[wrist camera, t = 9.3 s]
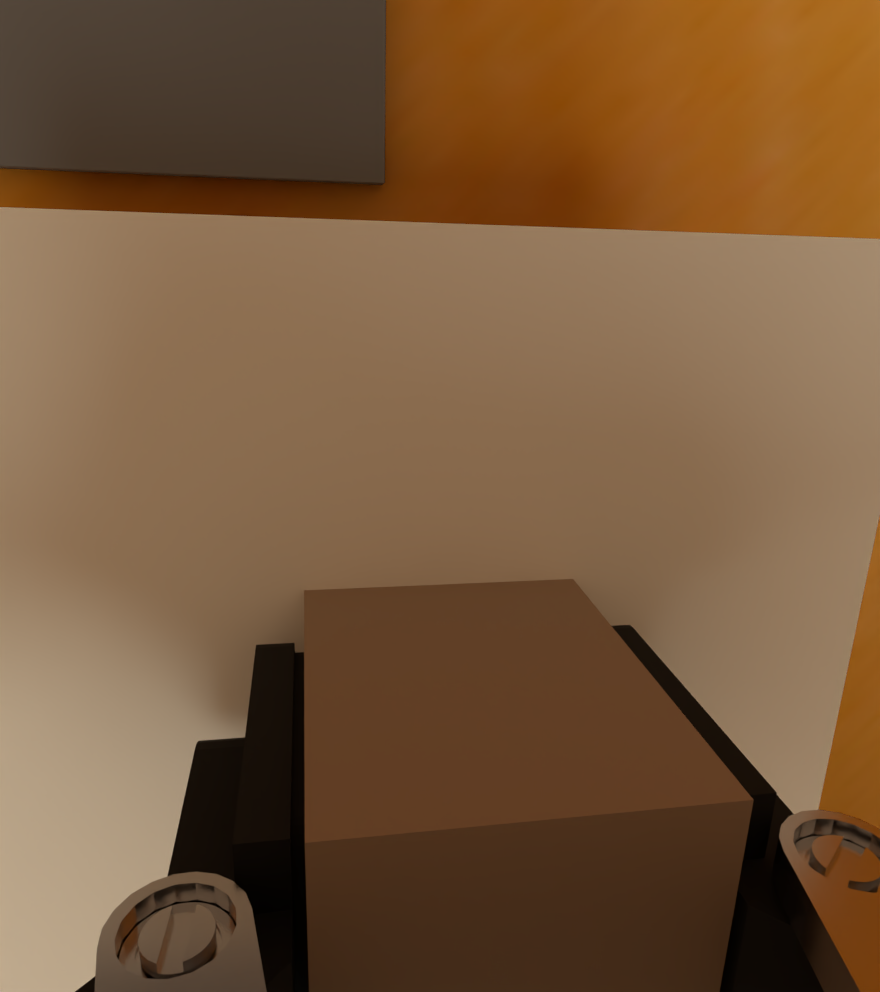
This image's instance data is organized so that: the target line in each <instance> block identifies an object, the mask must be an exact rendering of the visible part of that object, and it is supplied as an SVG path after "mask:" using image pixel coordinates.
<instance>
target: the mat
mask: <svg viewBox="0 0 880 992" xmlns="http://www.w3.org/2000/svg"><path fill="white" fill-rule="evenodd" d="M385 57H386V0H0V168H9V169H31V170H54V171H77V172H99V173H122V174H145V175H167V176H190V177H213V178H235V179H258V180H281V181H304V182H326V183H349V184H372V185H383V184H384V183H385Z"/></svg>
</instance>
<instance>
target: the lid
mask: <svg viewBox="0 0 880 992" xmlns="http://www.w3.org/2000/svg"><path fill="white" fill-rule="evenodd" d="M879 516H880V239H867V238H839V237H812V236H784V235H756V234H729V233H701V232H673V231H646V230H618V229H590V228H563V227H535V226H508V225H480V224H452V223H425V222H397V221H370V220H342V219H314V218H287V217H259V216H231V215H204V214H176V213H148V212H121V211H93V210H66V209H38V208H10V207H0V992H75V991H76V990H78V989H79V988H80V987H82V986H83V985H84V984H86V983H87V982H88V981H89V980H91V979H92V978H93V977H95V972H96V954H97V946H98V942H99V938H100V934H101V930H102V928H103V926H104V924H105V923H106V921H107V920H108V918H109V917H110V915H111V914H112V912H113V910H114V909H115V908H116V907H118V906H119V905H120V904H121V903H122V902H123V901H124V900H125V899H126V898H127V897H128V896H129V895H130V894H132V893H134V892H135V891H137V890H139V889H140V888H142V887H144V886H146V885H147V884H149V883H151V882H153V881H156V880H159V879H162V878H164V877H167V876H168V871H169V866H170V862H171V857H172V853H173V848H174V843H175V839H176V834H177V829H178V825H179V820H180V816H181V811H182V806H183V802H184V797H185V792H186V788H187V783H188V778H189V774H190V769H191V765H192V760H193V755H194V751H195V747H196V744H197V742H198V741H202V740H216V739H229V738H243V737H245V733H246V725H247V716H248V708H249V699H250V691H251V683H252V674H253V666H254V657H255V649H256V645H261V644H279V643H294V644H295V653H297V652H304V761H305V870H306V905H307V939H308V974H309V992H720V986H721V980H722V975H723V969H724V964H725V958H726V952H727V947H728V941H729V935H730V930H731V924H732V919H733V913H734V907H735V902H736V896H737V891H738V885H739V879H740V874H741V868H742V862H743V857H744V851H745V846H746V840H747V834H748V829H749V823H750V817H751V812H752V806H753V801H754V800H753V798H752V797H751V796H750V795H749V794H748V792H747V791H746V790H745V789H744V787H743V786H742V785H741V784H740V783H739V781H738V780H737V779H736V778H735V776H734V775H733V774H732V773H731V772H730V770H729V769H728V768H727V767H726V765H725V764H724V763H723V762H722V761H721V759H720V758H719V757H718V756H717V754H716V753H715V752H714V751H713V750H712V748H711V747H710V746H709V745H708V743H707V742H706V741H705V740H704V739H703V737H702V736H701V735H700V734H699V732H698V731H697V730H696V729H695V728H694V726H693V725H692V724H691V723H690V721H689V720H688V719H687V718H686V717H685V715H684V714H683V713H682V712H681V710H680V709H679V708H678V707H677V706H676V704H675V703H674V702H673V701H672V699H671V698H670V697H669V696H668V695H667V693H666V692H665V691H664V690H663V688H662V687H661V686H660V685H659V684H658V682H657V681H656V680H655V679H654V677H653V676H652V675H651V674H650V673H649V671H648V670H647V669H646V668H645V666H644V665H643V664H642V663H641V662H640V660H639V659H638V658H637V657H636V655H635V654H634V653H633V652H632V651H631V649H630V648H629V647H628V646H627V644H626V643H625V642H624V641H623V640H622V638H621V637H620V636H619V635H618V633H617V632H616V631H615V630H614V628H613V627H612V626H615V625H630V626H632V627H633V628H634V629H635V630H636V631H637V633H638V634H639V635H640V636H641V637H642V638H643V639H644V641H645V642H646V643H647V644H648V645H649V646H650V648H651V649H652V650H653V651H654V652H655V653H656V654H657V656H658V657H659V658H660V659H661V660H662V661H663V662H664V664H665V665H666V666H667V667H668V668H669V669H670V671H671V672H672V673H673V674H674V675H675V676H676V677H677V679H678V680H679V681H680V682H681V683H682V684H683V685H684V687H685V688H686V689H687V690H688V691H689V692H690V693H691V695H692V696H693V697H694V698H695V699H696V700H697V702H698V703H699V704H700V705H701V706H702V707H703V708H704V710H705V711H706V712H707V713H708V714H709V715H710V716H711V718H712V719H713V720H714V721H715V722H716V723H717V725H718V726H719V727H720V728H721V729H722V730H723V731H724V733H725V734H726V735H727V736H728V737H729V738H730V739H731V741H732V742H733V743H734V744H735V745H736V746H737V748H738V749H739V750H740V751H741V752H742V753H743V754H744V756H745V757H746V758H747V759H748V760H749V761H750V762H751V764H752V765H753V766H754V767H755V768H756V769H757V771H758V772H759V773H760V774H761V775H762V776H763V777H764V779H765V780H766V781H767V782H768V783H769V784H770V785H771V787H772V788H773V789H774V790H775V791H776V792H777V795H778V797H779V798H780V799H781V800H782V801H783V802H784V803H785V805H786V806H787V807H788V808H789V809H790V810H791V811H792V813H793V814H796V813H799V812H801V811H810V810H818V808H819V804H820V799H821V794H822V789H823V784H824V780H825V775H826V770H827V765H828V760H829V756H830V751H831V746H832V741H833V736H834V732H835V727H836V722H837V717H838V713H839V708H840V703H841V698H842V693H843V689H844V684H845V679H846V674H847V669H848V665H849V660H850V655H851V650H852V645H853V641H854V636H855V631H856V626H857V621H858V617H859V612H860V607H861V602H862V597H863V593H864V588H865V583H866V578H867V573H868V569H869V564H870V559H871V554H872V550H873V545H874V540H875V535H876V530H877V526H878V521H879Z"/></svg>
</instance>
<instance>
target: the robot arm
mask: <svg viewBox="0 0 880 992" xmlns="http://www.w3.org/2000/svg"><path fill="white" fill-rule="evenodd" d="M612 627H613V628H614V630H615V631H616V632H617V633H618V635H619V636H620V637H621V638H622V640H623V641H624V642H625V643H626V644H627V646H628V647H629V648H630V649H631V651H632V652H633V653H634V654H635V655H636V657H637V658H638V659H639V660H640V662H641V663H642V664H643V665H644V666H645V668H646V669H647V670H648V671H649V673H650V674H651V675H652V676H653V677H654V679H655V680H656V681H657V682H658V684H659V685H660V686H661V687H662V688H663V690H664V691H665V692H666V693H667V695H668V696H669V697H670V698H671V699H672V701H673V702H674V703H675V704H676V706H677V707H678V708H679V709H680V710H681V712H682V713H683V714H684V715H685V717H686V718H687V719H688V720H689V721H690V723H691V724H692V725H693V726H694V728H695V729H696V730H697V731H698V732H699V734H700V735H701V736H702V737H703V739H704V740H705V741H706V742H707V743H708V745H709V746H710V747H711V748H712V750H713V751H714V752H715V753H716V754H717V756H718V757H719V758H720V759H721V761H722V762H723V763H724V764H725V765H726V767H727V768H728V769H729V770H730V772H731V773H732V774H733V775H734V776H735V778H736V779H737V780H738V781H739V783H740V784H741V785H742V786H743V787H744V789H745V790H746V791H747V792H748V794H749V795H750V796H751V797H752V798H753V800H754V801H753V806H752V812H751V817H750V823H749V829H748V834H747V840H746V846H745V851H744V857H743V862H742V868H741V874H740V879H739V885H738V891H737V896H736V902H735V907H734V913H733V919H732V924H731V930H730V935H729V941H728V947H727V952H726V958H725V964H724V969H723V975H722V980H721V986H720V992H880V829H879V828H877V827H875V826H873V825H871V824H869V823H867V822H865V821H863V820H861V819H858V818H855V817H852V816H848V815H845V814H842V813H839V812H831V811H824V810H810V811H801V812H799V813H796V814H793V813H792V811H791V810H790V809H789V808H788V807H787V806H786V805H785V803H784V802H783V801H782V800H781V799H780V798H779V797H778V795H777V792H776V791H775V790H774V789H773V788H772V787H771V785H770V784H769V783H768V782H767V781H766V780H765V779H764V777H763V776H762V775H761V774H760V773H759V772H758V771H757V769H756V768H755V767H754V766H753V765H752V764H751V762H750V761H749V760H748V759H747V758H746V757H745V756H744V754H743V753H742V752H741V751H740V750H739V749H738V748H737V746H736V745H735V744H734V743H733V742H732V741H731V739H730V738H729V737H728V736H727V735H726V734H725V733H724V731H723V730H722V729H721V728H720V727H719V726H718V725H717V723H716V722H715V721H714V720H713V719H712V718H711V716H710V715H709V714H708V713H707V712H706V711H705V710H704V708H703V707H702V706H701V705H700V704H699V703H698V702H697V700H696V699H695V698H694V697H693V696H692V695H691V693H690V692H689V691H688V690H687V689H686V688H685V687H684V685H683V684H682V683H681V682H680V681H679V680H678V679H677V677H676V676H675V675H674V674H673V673H672V672H671V671H670V669H669V668H668V667H667V666H666V665H665V664H664V662H663V661H662V660H661V659H660V658H659V657H658V656H657V654H656V653H655V652H654V651H653V650H652V649H651V648H650V646H649V645H648V644H647V643H646V642H645V641H644V639H643V638H642V637H641V636H640V635H639V634H638V633H637V631H636V630H635V629H634V628H633V627H632V626H630V625H615V626H612ZM75 992H309V974H308V939H307V905H306V870H305V761H304V652H297V653H295V644H294V643H279V644H261V645H256V649H255V657H254V666H253V674H252V683H251V691H250V699H249V708H248V716H247V725H246V733H245V737H243V738H229V739H216V740H202V741H198V742H197V744H196V747H195V751H194V755H193V760H192V765H191V769H190V774H189V778H188V783H187V788H186V792H185V797H184V802H183V806H182V811H181V816H180V820H179V825H178V829H177V834H176V839H175V843H174V848H173V853H172V857H171V862H170V866H169V871H168V876H167V877H164V878H162V879H159V880H156V881H153V882H151V883H149V884H147V885H146V886H144V887H142V888H140V889H139V890H137V891H135V892H134V893H132V894H130V895H129V896H128V897H127V898H126V899H125V900H124V901H123V902H122V903H121V904H120V905H119V906H118V907H116V908H115V909H114V910H113V912H112V914H111V915H110V917H109V918H108V920H107V921H106V923H105V924H104V926H103V928H102V930H101V934H100V938H99V942H98V946H97V954H96V972H95V977H93V978H92V979H91V980H89V981H88V982H87V983H86V984H84V985H83V986H82V987H80V988H79V989H78V990H76V991H75Z"/></svg>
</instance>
